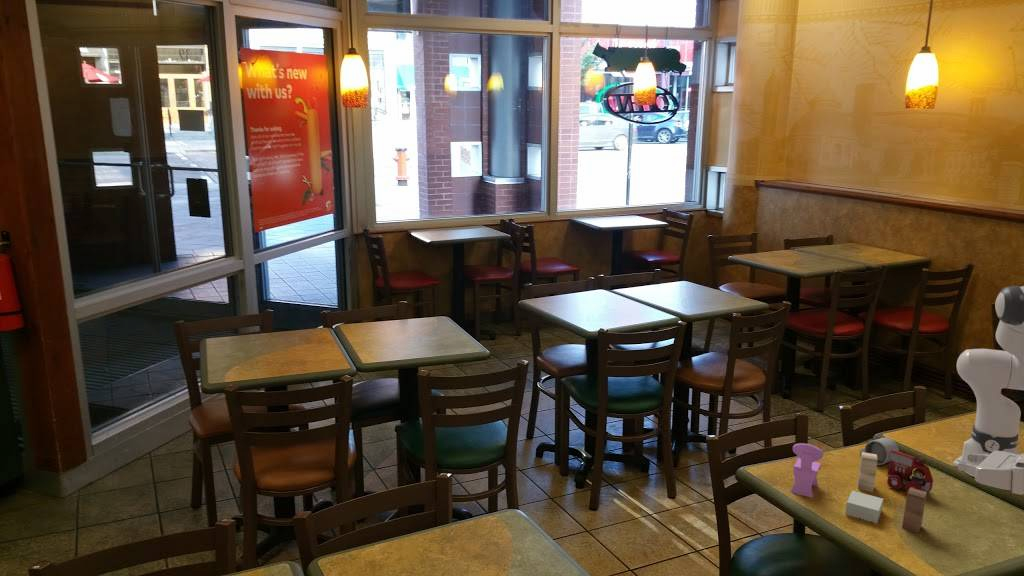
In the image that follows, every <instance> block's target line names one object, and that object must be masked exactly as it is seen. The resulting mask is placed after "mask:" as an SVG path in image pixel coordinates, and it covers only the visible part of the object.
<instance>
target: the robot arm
mask: <svg viewBox="0 0 1024 576" xmlns="http://www.w3.org/2000/svg"><path fill="white" fill-rule="evenodd" d="M996 296H997V297H996V299H995V303H994V306H995V313H996V316H997V318H998V319H999V322H998V325H997V328H996V330H995V340H996V342H997V343H998V345H999V346H1000V347H1001V348H1002V350H1000V349H992V348H990V349H989V348H971V349H970V348H969V349H965V350H964V351H963V352H961V353H960V354H959V356H958V357H957V361H956V371H957V373H958V376H959V377H960V378H961V379H962V380H963V381H965V383H967V384H968V385H969V387H970V388H971V390H972V392H973V393H974V396H975V398H976V412H975V413H976V415H975V422H974V424H973V426H972V429H971V436H970V438H969V439H967V440H966V441H964V443H963V448H962V452H961V455H960V456H959V457H957V458H956V459H955V460H954V461H953V462H952V465H953V466H954V467H957V470H958V471H961V472H964V473H966V474H967V475H969V476H970V477H974V480H975V482H977V483H979V484H981V485H984V486H988V487H993V488H995V489H1001V490H1004V491H1005V490H1007V491H1010V490H1011V493H1012V494H1015V495H1021V496H1022V495H1024V453H1021V454H1020V451H1019V450H1018V449H1017V446H1018V443H1019V434H1018V431H1019V427H1020V426H1019V425H1020V421H1021V414H1022V412H1021V408H1020V407H1019V405H1018V404H1017V403H1016V402H1014V401H1013V400H1012V399H1010V398H1008V397H1007V396H1005V395H1003V394H1002V389H1010V390H1017V391H1018V390H1019V391H1024V285H1023V286H1019V285H1011V286H1006V287H1005V286H1004V287H1003V288H1002V289H1001V290H1000V291H998V294H997V295H996Z"/></svg>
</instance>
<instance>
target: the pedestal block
mask: <svg viewBox="0 0 1024 576" xmlns="http://www.w3.org/2000/svg"><path fill="white" fill-rule="evenodd" d="M883 504H884V498H881V497H878V496H875V495H870V494H866V493H863V492H859V491H855V490H852V491H851V492H850V495H849V497H848V498H847V501H846V506H845V512H844V515H846V516H849V517H852V516H853V518H856V517H857V518H856V519H859V518H861V519H860V520H863V519H864V521H866V520H867V522H870V521H872V522H871V523H873V522H874V524H878V522H879V519H880V517H881V515H882V512H883V506H884V505H883ZM881 511H882V512H881Z"/></svg>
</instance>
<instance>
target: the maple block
mask: <svg viewBox="0 0 1024 576" xmlns="http://www.w3.org/2000/svg"><path fill="white" fill-rule="evenodd" d="M877 461H878V459H877V454H870V453H864V452H862V454H861V455H860V461H859V463H860V464H859V468H858V469H859V470H858V476H857V489H858V490H861V491H865V490H866V492H871V493H874V487H875V481H876V475H877V467H878V465H877Z"/></svg>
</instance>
